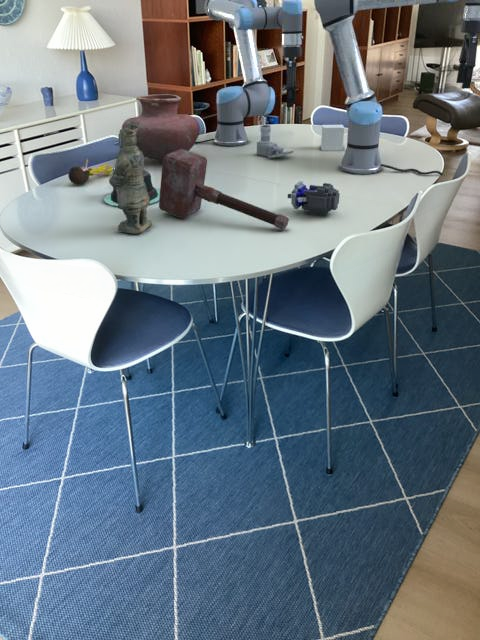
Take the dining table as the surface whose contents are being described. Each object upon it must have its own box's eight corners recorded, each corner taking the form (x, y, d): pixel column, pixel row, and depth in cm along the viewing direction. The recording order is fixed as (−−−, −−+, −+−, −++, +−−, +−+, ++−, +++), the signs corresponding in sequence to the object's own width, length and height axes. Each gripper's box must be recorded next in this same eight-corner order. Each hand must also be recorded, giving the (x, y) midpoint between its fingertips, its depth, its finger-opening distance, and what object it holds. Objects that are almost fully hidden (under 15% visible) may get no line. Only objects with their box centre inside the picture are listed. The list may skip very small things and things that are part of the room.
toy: (295, 178, 172) (342, 184, 166) (295, 205, 177) (340, 211, 171) (285, 186, 166) (333, 192, 160) (284, 213, 170) (331, 220, 164)
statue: (131, 220, 168) (117, 116, 152) (158, 224, 164) (147, 118, 149) (109, 233, 159) (93, 124, 144) (138, 237, 156) (124, 126, 140)
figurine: (134, 159, 212) (83, 166, 193) (134, 179, 215) (84, 188, 196) (109, 155, 218) (58, 161, 199) (110, 174, 221) (59, 182, 202)
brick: (321, 150, 238) (322, 127, 234) (320, 146, 244) (322, 124, 239) (342, 150, 238) (344, 127, 233) (341, 146, 243) (342, 124, 238)
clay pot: (207, 152, 239) (204, 90, 226) (190, 171, 213) (185, 102, 200) (140, 150, 243) (133, 89, 231) (115, 169, 218) (106, 101, 205)
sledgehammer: (299, 190, 156) (179, 147, 167) (285, 200, 148) (161, 154, 160) (286, 244, 166) (174, 200, 177) (272, 256, 158) (156, 209, 170)
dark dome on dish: (91, 202, 180) (113, 186, 197) (142, 231, 182) (160, 212, 199) (107, 162, 172) (129, 148, 190) (160, 192, 174) (177, 176, 192)
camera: (266, 123, 231) (294, 128, 223) (265, 151, 237) (293, 157, 229) (252, 126, 226) (281, 131, 217) (252, 155, 232) (280, 162, 223)
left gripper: (300, 47, 203) (298, 109, 213) (302, 44, 224) (301, 99, 235) (279, 48, 204) (279, 109, 214) (284, 44, 225) (283, 100, 236)
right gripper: (492, 21, 181) (479, 90, 192) (479, 18, 202) (468, 80, 213) (468, 21, 182) (456, 90, 193) (457, 18, 204) (447, 80, 214)
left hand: (291, 104), depth 224 cm, fingers open, 13 cm apart
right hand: (462, 85), depth 203 cm, fingers open, 13 cm apart
